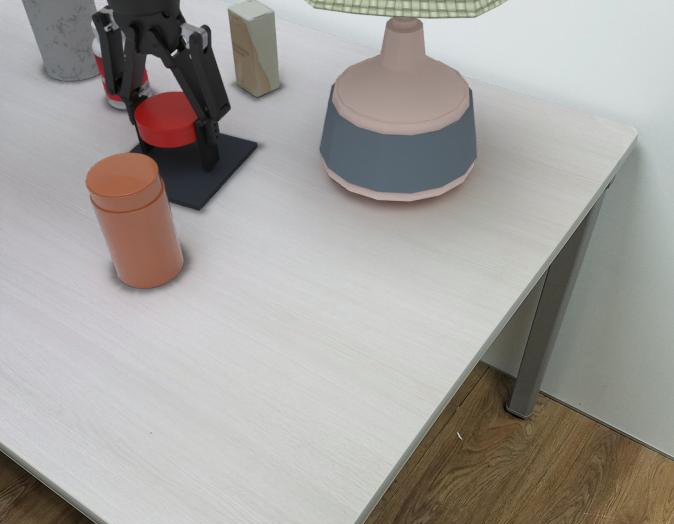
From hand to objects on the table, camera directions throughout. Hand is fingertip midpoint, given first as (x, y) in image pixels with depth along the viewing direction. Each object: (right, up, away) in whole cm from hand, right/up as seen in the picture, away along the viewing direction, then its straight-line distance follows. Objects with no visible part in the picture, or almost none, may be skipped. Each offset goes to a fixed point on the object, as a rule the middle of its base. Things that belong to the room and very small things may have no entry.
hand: (180, 155), depth 87 cm
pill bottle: (-10, +11, +11) cm, 18 cm away
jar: (-1, -15, -11) cm, 18 cm away
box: (+8, +13, +13) cm, 20 cm away
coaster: (0, -1, +1) cm, 1 cm away
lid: (0, +4, -4) cm, 6 cm away
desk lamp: (+27, -2, 0) cm, 27 cm away
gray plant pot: (-19, +18, +18) cm, 32 cm away
